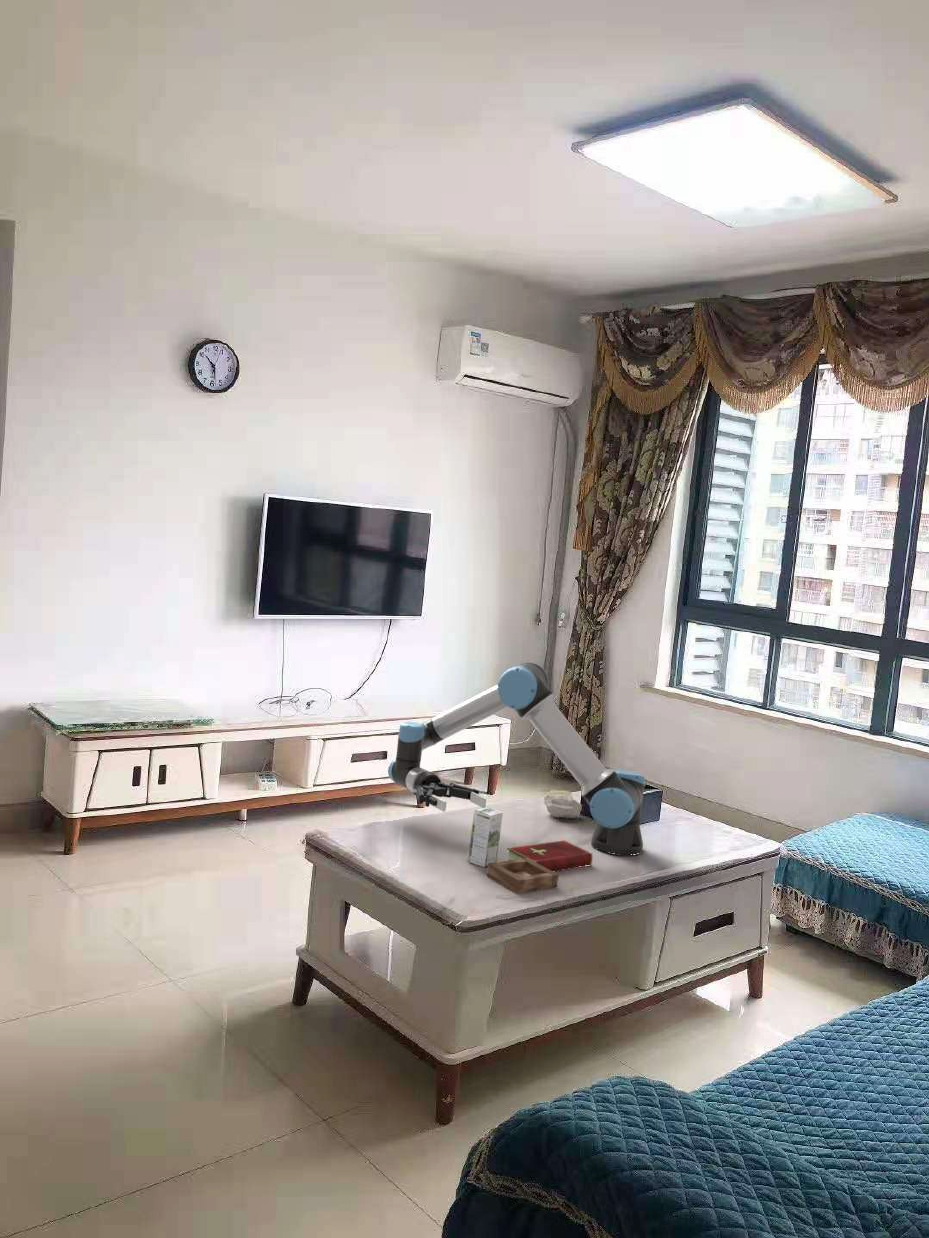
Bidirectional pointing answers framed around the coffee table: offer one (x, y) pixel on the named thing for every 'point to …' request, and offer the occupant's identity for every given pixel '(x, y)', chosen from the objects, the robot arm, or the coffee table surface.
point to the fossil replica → (562, 804)
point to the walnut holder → (522, 875)
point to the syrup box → (485, 836)
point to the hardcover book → (552, 855)
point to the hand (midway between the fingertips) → (465, 804)
